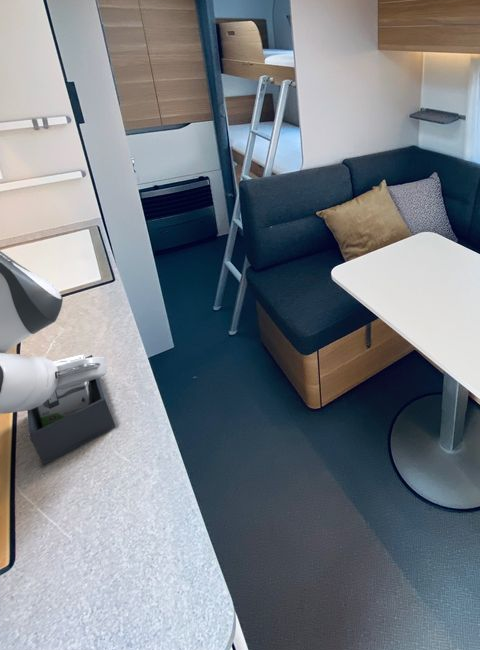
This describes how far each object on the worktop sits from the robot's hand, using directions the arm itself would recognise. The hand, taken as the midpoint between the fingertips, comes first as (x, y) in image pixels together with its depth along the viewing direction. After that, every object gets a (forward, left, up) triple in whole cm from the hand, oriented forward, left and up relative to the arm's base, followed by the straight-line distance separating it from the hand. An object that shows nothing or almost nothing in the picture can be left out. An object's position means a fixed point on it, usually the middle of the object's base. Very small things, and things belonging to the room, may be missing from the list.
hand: (57, 383), depth 83 cm
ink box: (-1, +1, -10) cm, 10 cm away
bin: (0, +1, -11) cm, 11 cm away
